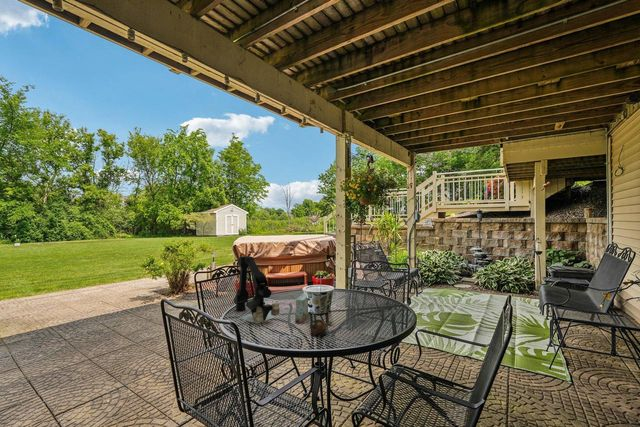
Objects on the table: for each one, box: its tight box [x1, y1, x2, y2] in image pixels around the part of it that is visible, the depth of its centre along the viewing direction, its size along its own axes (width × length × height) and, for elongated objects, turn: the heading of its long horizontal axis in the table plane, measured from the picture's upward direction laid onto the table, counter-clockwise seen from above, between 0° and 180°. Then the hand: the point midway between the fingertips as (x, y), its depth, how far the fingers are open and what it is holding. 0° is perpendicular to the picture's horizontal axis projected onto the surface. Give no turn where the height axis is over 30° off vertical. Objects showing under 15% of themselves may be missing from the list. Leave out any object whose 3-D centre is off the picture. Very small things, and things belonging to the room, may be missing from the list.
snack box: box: [294, 292, 310, 324], centre depth 194 cm, size 21×6×15 cm, turn 168°
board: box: [238, 311, 282, 324], centre depth 195 cm, size 18×22×1 cm
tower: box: [271, 302, 280, 317], centre depth 198 cm, size 4×4×8 cm
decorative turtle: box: [309, 318, 328, 337], centre depth 168 cm, size 10×15×8 cm, turn 17°
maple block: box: [253, 311, 264, 324], centre depth 186 cm, size 5×5×5 cm
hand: (259, 319), depth 186 cm, fingers open, 9 cm apart
